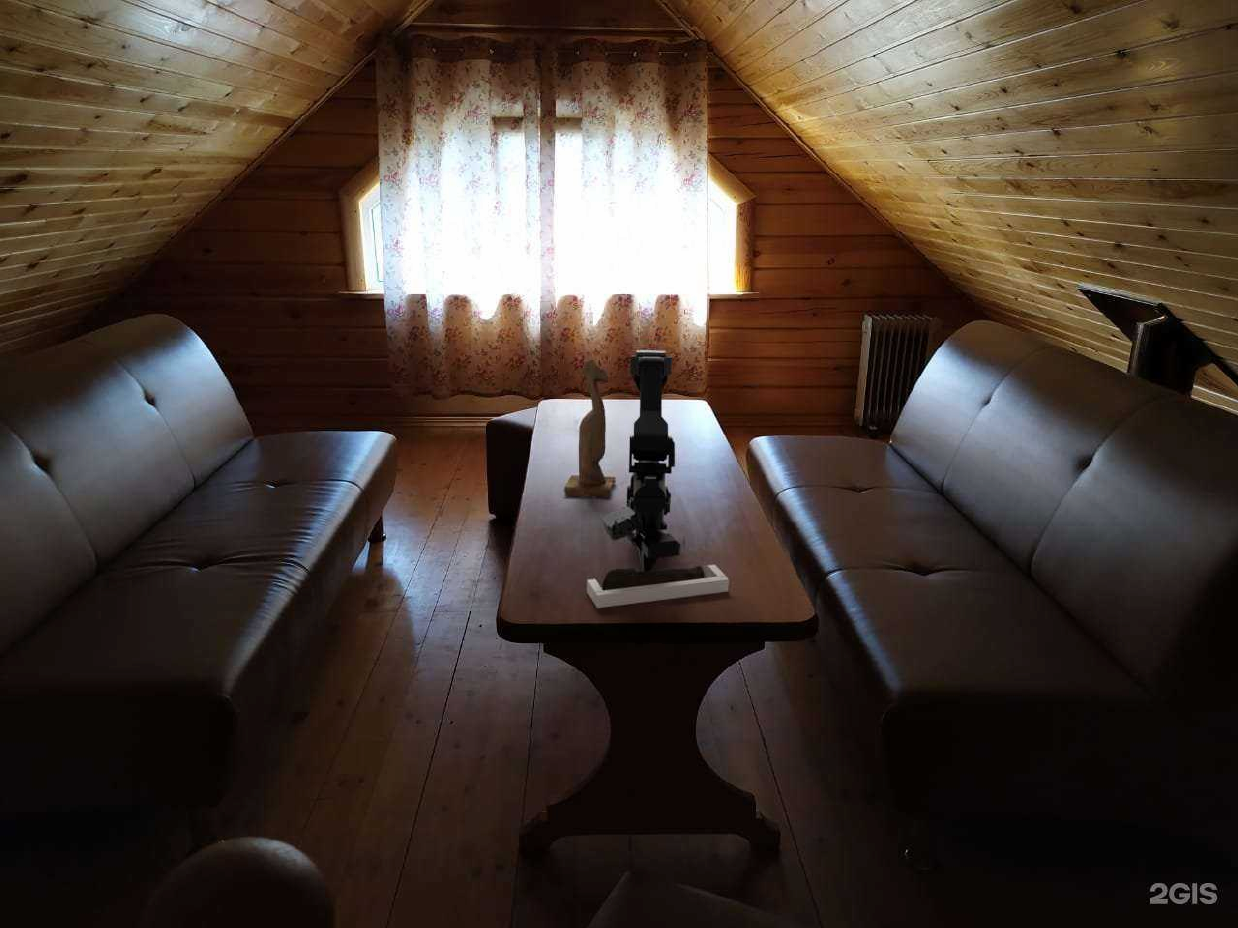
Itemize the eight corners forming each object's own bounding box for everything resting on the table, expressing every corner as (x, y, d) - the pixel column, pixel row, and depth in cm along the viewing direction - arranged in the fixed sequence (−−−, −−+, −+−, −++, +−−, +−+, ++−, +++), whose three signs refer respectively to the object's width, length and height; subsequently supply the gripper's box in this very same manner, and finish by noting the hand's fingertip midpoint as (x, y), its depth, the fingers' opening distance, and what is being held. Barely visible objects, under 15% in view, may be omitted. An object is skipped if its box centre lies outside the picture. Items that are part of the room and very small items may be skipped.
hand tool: (700, 582, 166) (701, 559, 164) (705, 591, 162) (706, 568, 161) (600, 588, 163) (600, 564, 161) (603, 597, 159) (604, 574, 158)
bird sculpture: (613, 500, 207) (620, 366, 197) (563, 497, 207) (568, 363, 198) (615, 485, 218) (622, 357, 208) (568, 482, 218) (572, 354, 208)
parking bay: (587, 592, 160) (587, 579, 159) (713, 576, 167) (714, 564, 167) (597, 608, 154) (597, 595, 153) (728, 591, 162) (728, 578, 161)
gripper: (592, 482, 168) (591, 557, 173) (622, 518, 151) (621, 600, 156) (647, 477, 171) (645, 551, 176) (683, 512, 154) (679, 592, 159)
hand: (646, 572), depth 167 cm, fingers closed
